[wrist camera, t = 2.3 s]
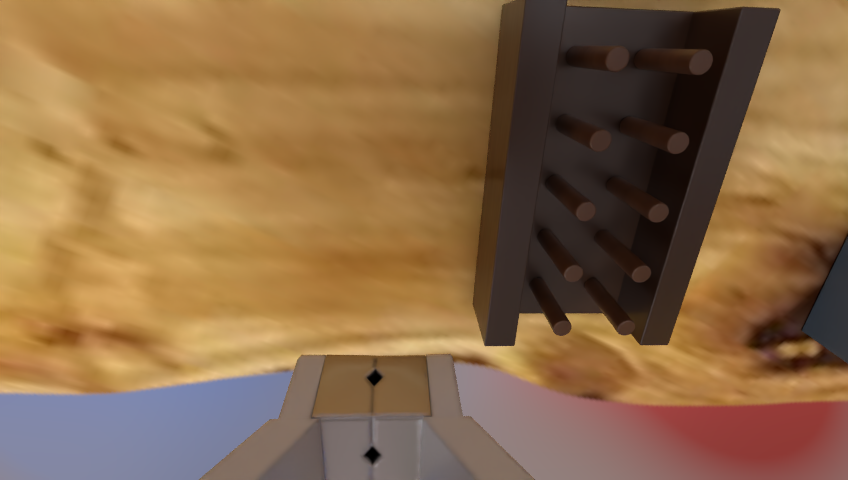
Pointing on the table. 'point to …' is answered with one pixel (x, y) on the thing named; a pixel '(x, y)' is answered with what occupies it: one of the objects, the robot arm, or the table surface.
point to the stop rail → (832, 309)
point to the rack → (608, 159)
